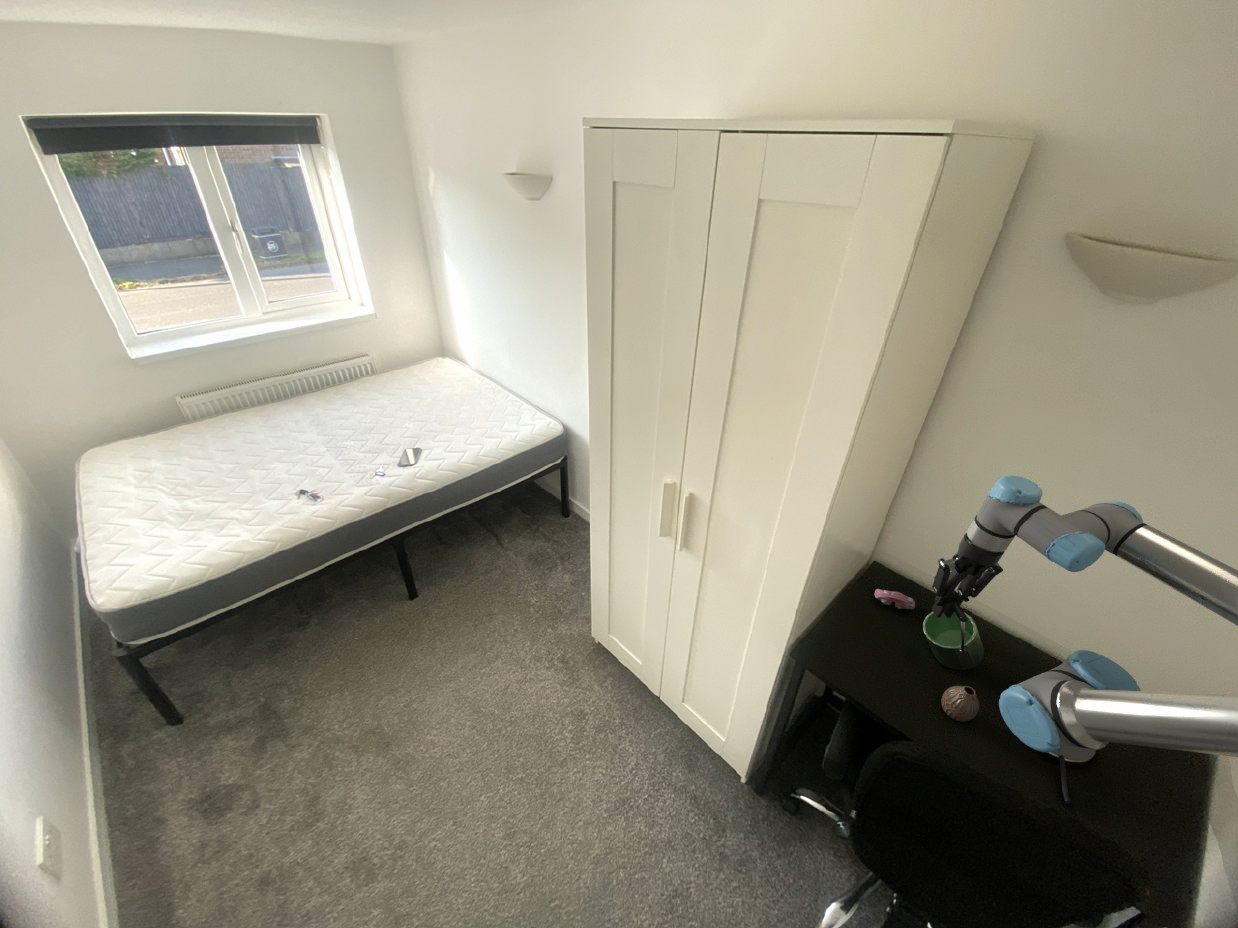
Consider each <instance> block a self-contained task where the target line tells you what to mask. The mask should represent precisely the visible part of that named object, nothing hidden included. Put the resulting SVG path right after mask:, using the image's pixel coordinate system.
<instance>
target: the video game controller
mask: <svg viewBox="0 0 1238 928" xmlns="http://www.w3.org/2000/svg"><path fill="white" fill-rule="evenodd" d="M874 597H875V598H876V599H877V600H878V601H879V602H881V603H882V604H883V605H887V606H891V605H892V604H893V603H894V607H895V608H897V609H898V610H900V609H901V610H904V609H906V610H915V608H916V602H915V599H914V598H912V597H910V596H907V595H905V594H904V593H902V592H899V591H891V590H886V589H880V588H876V589H875V591H874Z"/></svg>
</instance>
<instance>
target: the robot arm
mask: <svg viewBox="0 0 1238 928" xmlns="http://www.w3.org/2000/svg"><path fill="white" fill-rule="evenodd" d="M1043 495H1044V494H1043V489H1042V487H1039V485H1038V484H1037V483H1036V482H1034V481H1032V480H1031V479H1028V478H1026V477H1023V476H1018V475H1009V474H1008V475H1004V476H1000V477H999V478H998V479H997V480H996V481H995V483H994V484H993V486H992V487H991V489H990V490H989V491H988V492H987V496H986V498H985V499H984V501H983V502H982V505H980V508H979V510H978V512H977V514H976V515H975V517H974V518H973V520H972V522H971V524H970V525H969V527H968V529H966V532H965V533H964V535H963V537H962V538H961V541H959V543H958V549H957V552H956V553H955V554H954V555H952V558H950V559H945V558H944V557H943V558H942V557H940V558H939V559H938V560H937V563H938V568H937V571H936V574H935V576H936V577H935V576H934V577H935V579H933V583H932V586H931V587H932V590H933V591H934V593H935V594H936V596H935V597H934V599H933V600H934V603H933V605H932V607H931V610H932V612H934V613H935V615H936V617H937V618H940V617H941V615H942V614H943V612H944V614H945V616H946V617H947V618H951V616H952V614H953V613H954V610H953V608H952V607H951V605H950V601H951V598H950V595H951V594H953V596H954V597H955V599H956V600H957V602H958V604H959V605H960V606H962V604H963V603H964V602H965V603H968V602H970V598H972V599H974V598H977V597H978V596H979V595H980V593H981V592H982V591H983V590H984V589H985V588H986V587H987V586H988V585H989V584H990V583H991V582H992V580H993V579H994V578H995V577H996V576H998V575H999V574H1001V573H1002V572H1004V569H1003V568H1002V566H1001V565H1000V564H999V561H1000V560H1001V558H1002V557H1003V556H1004V554H1005V552H1006V551H1007V550H1008V548H1009V546H1010V545H1011V543H1012V542H1013V540H1014V539H1015V537H1017V538H1019V539H1020V540H1022V541H1023V542H1025V543H1026V544H1028V546H1030V547H1031V548H1033V549H1034V550H1036V552H1038V553H1040V554H1041V555H1042V556H1044V557H1045V558H1046V559H1048V560H1049V561H1050V562H1052V563H1055V564H1056V565H1058V566H1060V567H1061V568H1063V569H1064V570H1066V571H1067V572H1071V573H1078V572H1083V571H1084V570H1086V569H1087V568H1088V567H1090V566H1092V565H1093V564H1094V563H1096V562H1097V561H1098V560H1099V559H1100V558H1101V557H1102V556H1103V554H1104V552H1105V551H1107V552H1108V553H1109V554H1112V555H1114V556H1115V557H1117V558H1119V559H1121V560H1123V561H1124V562H1125V563H1128V564H1130V565H1131V566H1133V567H1135V568H1136V569H1138V570H1140V571H1142V572H1143V573H1145V574H1147V575H1149V576H1150V577H1152V578H1154V579H1155V580H1157V581H1159V582H1161V583H1162V584H1164V585H1166V586H1168V587H1169V588H1171V589H1173V590H1174V591H1176V592H1178V593H1180V594H1181V595H1183V596H1185V597H1186V598H1188V599H1190V600H1192V601H1194V602H1195V603H1197V604H1199V605H1201V606H1202V607H1204V608H1206V609H1207V610H1209V611H1210V612H1212V613H1214V614H1216V615H1218V616H1219V617H1220V618H1223V619H1225V620H1227V621H1228V622H1230V623H1232V624H1233V625H1235V626H1237V627H1238V569H1236V568H1234V567H1232V566H1230V565H1228V564H1226V563H1224V562H1222V561H1220V560H1218V559H1216V558H1214V557H1212V556H1210V555H1208V554H1206V553H1204V552H1202V551H1201V550H1198V549H1196V548H1195V547H1192V546H1191V545H1188V544H1187V543H1184V542H1183V541H1181V540H1179V539H1177V538H1174V537H1173V536H1170V535H1169V534H1167V533H1165V532H1163V531H1161V530H1159V529H1157V528H1155V527H1153V526H1152V525H1149V524H1147V523H1145V522H1144V520H1143V517H1142V515H1141V514H1140V512H1138V510H1137V509H1136V508H1135V507H1134V506H1133V505H1131V504H1129V503H1126V502H1122V501H1115V500H1114V501H1112V500H1111V501H1105V502H1099V503H1098V502H1097V503H1094V504H1091V505H1089V506H1088V507H1084V508H1082V509H1079V510H1074V511H1072V512H1068V513H1065V514H1060V513H1057V512H1056V511H1055V510H1053V509H1052V508H1050V507H1048V506H1046V505H1045V504H1044V503H1042V502H1041V501H1042V497H1043ZM969 597H970V598H969ZM998 707H999V711H1000V714H1001V717H1002V719H1003V721H1004V723H1005V724H1006V726H1007V727H1008V729H1009V730H1010V732H1012V734H1013V735H1014V736H1015V737H1017V739H1019V741H1020V742H1022V743H1023V744H1024V745H1026V746H1027V747H1028V748H1030V749H1032V750H1035V751H1036V752H1039V753H1040V754H1041V755H1044V756H1045V757H1047V758H1049V759H1050V760H1053V761H1056V762H1058V763H1059V769H1060V779H1061V780H1060V781H1061V790H1062V796H1063V798H1064V802H1065V803H1066V804H1071V798H1070V795H1069V790H1068V778H1067V770H1066V769H1067V768H1066V767H1067V766H1066V765H1068V766H1081V765H1084V764H1086V763H1088V762H1089V761H1090V760H1091V759H1092V758H1093V757H1095V755H1096V752H1097V750H1101V749H1103V748H1105V747H1107V745H1108V744H1109V743H1114V744H1121V745H1123V744H1124V745H1132V746H1140V747H1149V748H1157V749H1164V750H1165V749H1166V750H1173V751H1174V750H1176V751H1182V752H1190V753H1199V754H1206V755H1215V756H1223V757H1224V756H1225V757H1232V758H1233V757H1234V758H1238V693H1234V694H1233V693H1209V692H1208V693H1207V692H1180V691H1179V692H1178V691H1177V692H1175V691H1148V690H1147V691H1145V690H1141V687H1140V686H1139V684H1138V683H1137V680H1136V679H1135V678H1134V677H1133V675H1132V674H1130V673H1129V671H1127V670H1126V669H1125V668H1124V667H1122V666H1121V665H1120V664H1118V663H1117V662H1116V661H1114V660H1112V659H1111V658H1109V657H1106V656H1104V655H1102V654H1099V653H1098V652H1096V651H1091V650H1088V649H1087V650H1086V649H1078V650H1075V651H1073V652H1072V653H1071V654H1068V656H1067V657H1066V659H1065V660H1064V662H1062V663H1060V665H1058V666H1056V667H1054V668H1051V669H1049V670H1047V671H1045V672H1042V673H1039V674H1037V675H1034V676H1033V677H1030V678H1028V679H1026V680H1023V681H1022V682H1019V683H1017V684H1012V685H1010V686H1009V687H1008V688H1006V689H1005V690H1003V691H1002V692H1001V693H1000V698H999V699H998Z"/></svg>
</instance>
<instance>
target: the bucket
mask: <svg viewBox="0 0 1238 928" xmlns="http://www.w3.org/2000/svg"><path fill="white" fill-rule="evenodd" d="M935 577H936V575H935V576H934V577H933V578H934V579H933V580H935ZM950 598H951V601H950V605H951V607H952V608H953V610H954V613H953V614H952V616H951V618H947V617H946V616H945V614H944V612H943V614H942V615H941V617H940V618H937V617H936V615H935V613H934V612H933V611H931V612H930V613H928V614H927V615H926V617H925V618H924V620H923V622H922V630H923V633H924V636H925V638H926V640H927V642H928V644H929V648H930V650H931V652H932V654H933V656H934V658H935V659H936V660H937V661H938V662H939V663H940V664H941V665H942V666H945V667H946V668H949V669H952V670H959V671H966V670H969V669H973V668H975V667H976V666H978V665H979V664H980V663H981V662H982V660H983V658H984V656H985V649H984V645H983V642H982V638H981V635H980V633H979V630H978V627H977V624H976V622H975V620H974V619H973V617H971V615H969V614H967V613H966V612H965V611H964V610H963V608H962V607H961V605H959V604H958V602H957V600H956V599H955V597H954V596H953V594H951V595H950Z"/></svg>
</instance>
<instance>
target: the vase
mask: <svg viewBox="0 0 1238 928" xmlns="http://www.w3.org/2000/svg"><path fill="white" fill-rule="evenodd" d="M940 701H941V702H940V703H941V707H942V710H943V712H944V713H945V714H946V715H947V716H948V717H949V718H950V719H952V720H954V721H957V722H961V723H965V722H969V721H971V720H973V719H974V718H975V717H976V716H977V715H978V713H979V711H980V701H979V699H978V696H977V692H976V691H975V689H974V688H973V687H971V686H970V685H964V686H963V685H953V686H950V687H948V688H947V689H945V691H944V692H943V694H942V696H941V700H940Z"/></svg>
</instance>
